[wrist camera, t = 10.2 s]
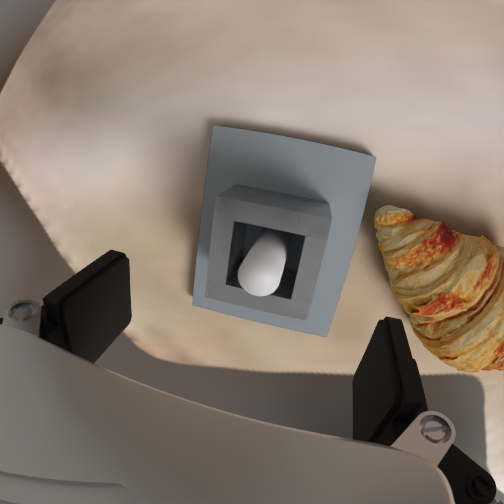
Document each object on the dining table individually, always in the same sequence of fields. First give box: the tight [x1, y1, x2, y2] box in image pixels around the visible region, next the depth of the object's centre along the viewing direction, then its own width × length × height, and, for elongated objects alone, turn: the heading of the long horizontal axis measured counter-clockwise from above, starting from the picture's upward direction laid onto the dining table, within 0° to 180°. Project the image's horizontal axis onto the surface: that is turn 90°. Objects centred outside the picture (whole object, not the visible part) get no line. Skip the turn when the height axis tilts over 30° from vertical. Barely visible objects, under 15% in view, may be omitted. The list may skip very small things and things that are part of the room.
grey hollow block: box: [205, 184, 332, 321], centre depth 21 cm, size 6×6×4 cm
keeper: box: [192, 125, 376, 337], centre depth 20 cm, size 14×11×8 cm
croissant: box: [374, 205, 504, 372], centre depth 20 cm, size 21×10×8 cm, turn 56°
